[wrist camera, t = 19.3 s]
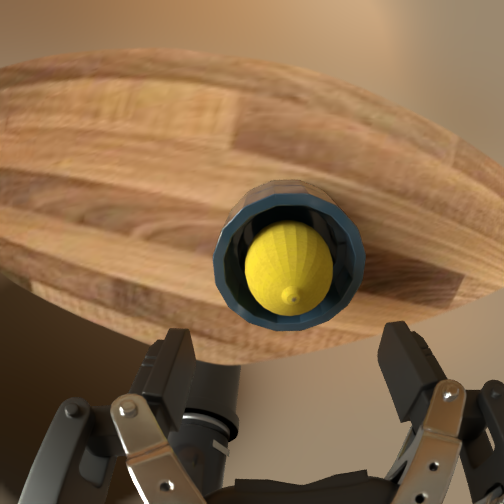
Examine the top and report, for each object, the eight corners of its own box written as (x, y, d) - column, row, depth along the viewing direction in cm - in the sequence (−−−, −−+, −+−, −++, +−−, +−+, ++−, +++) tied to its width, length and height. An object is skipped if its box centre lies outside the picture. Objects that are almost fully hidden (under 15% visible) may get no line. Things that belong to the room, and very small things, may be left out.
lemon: (292, 286, 23) (301, 353, 16) (235, 250, 22) (219, 310, 15) (335, 233, 21) (366, 286, 14) (275, 192, 20) (281, 227, 13)
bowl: (313, 303, 24) (322, 344, 19) (211, 268, 24) (196, 305, 19) (363, 207, 21) (390, 230, 16) (249, 160, 20) (243, 168, 15)
